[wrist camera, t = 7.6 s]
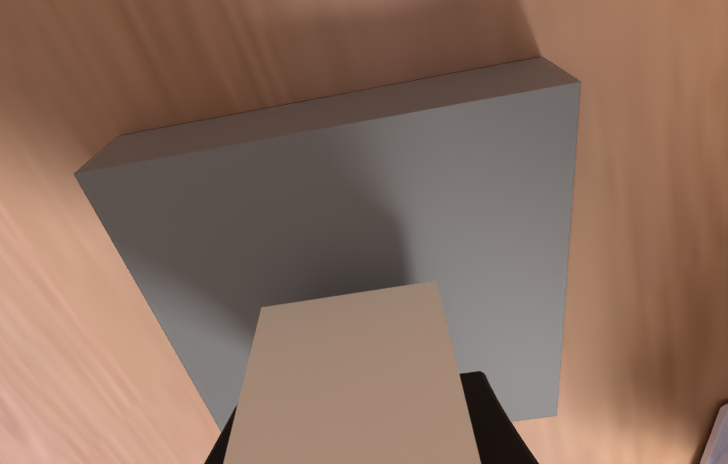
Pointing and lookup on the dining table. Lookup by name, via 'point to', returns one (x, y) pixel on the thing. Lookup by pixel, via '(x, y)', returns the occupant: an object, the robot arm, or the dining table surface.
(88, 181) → the base block
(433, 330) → the ivory block
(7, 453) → the dining table surface
